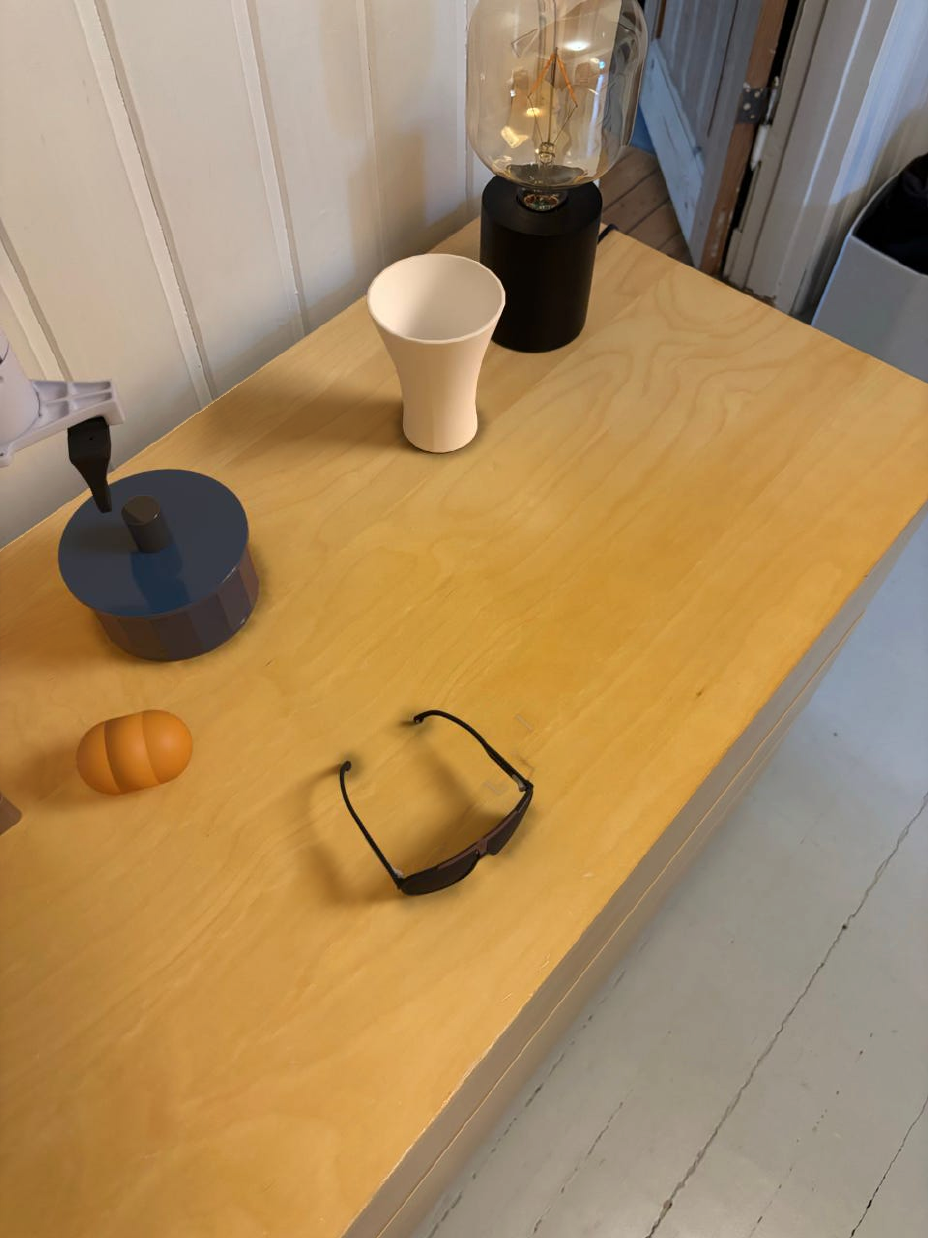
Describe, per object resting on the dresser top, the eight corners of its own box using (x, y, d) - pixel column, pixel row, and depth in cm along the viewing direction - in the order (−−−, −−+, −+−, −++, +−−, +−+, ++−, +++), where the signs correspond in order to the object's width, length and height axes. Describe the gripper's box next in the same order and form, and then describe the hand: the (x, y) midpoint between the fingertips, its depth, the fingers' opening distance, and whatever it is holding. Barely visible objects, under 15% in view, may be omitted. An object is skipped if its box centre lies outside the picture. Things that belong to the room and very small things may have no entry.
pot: (104, 679, 68) (72, 631, 62) (92, 550, 74) (63, 496, 69) (271, 639, 70) (255, 588, 64) (245, 517, 76) (228, 462, 71)
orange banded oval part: (95, 787, 64) (81, 816, 59) (74, 720, 63) (58, 743, 58) (203, 759, 65) (198, 785, 61) (184, 692, 64) (177, 713, 59)
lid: (68, 645, 62) (44, 609, 59) (58, 500, 69) (36, 460, 66) (265, 599, 64) (253, 562, 61) (235, 462, 71) (223, 421, 68)
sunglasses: (419, 929, 58) (409, 896, 54) (321, 794, 64) (305, 757, 60) (551, 830, 61) (550, 793, 57) (444, 712, 68) (437, 672, 64)
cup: (507, 390, 84) (513, 259, 73) (491, 477, 78) (495, 349, 67) (392, 378, 85) (381, 247, 74) (369, 463, 79) (352, 335, 68)
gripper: (-192, 432, 48) (-67, 585, 60) (95, 377, 50) (163, 534, 62) (-181, 344, 52) (-65, 503, 63) (86, 296, 54) (152, 458, 65)
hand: (47, 513), depth 63 cm, fingers open, 7 cm apart
